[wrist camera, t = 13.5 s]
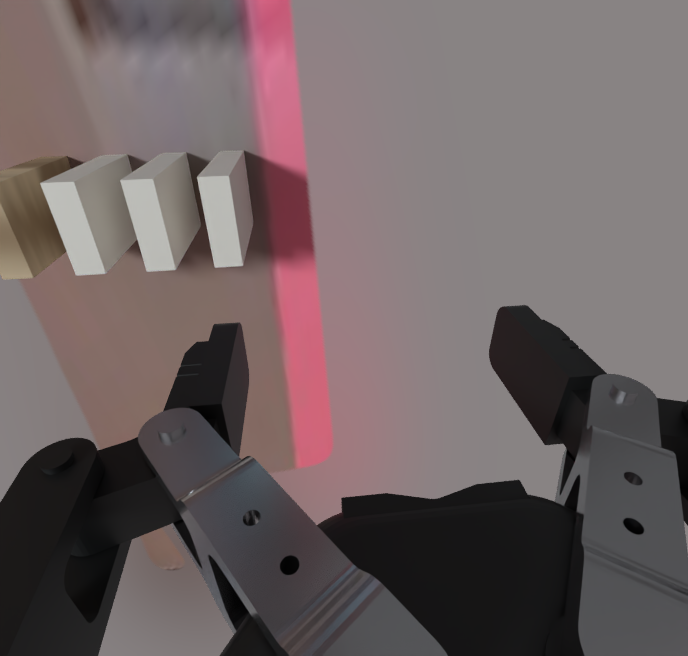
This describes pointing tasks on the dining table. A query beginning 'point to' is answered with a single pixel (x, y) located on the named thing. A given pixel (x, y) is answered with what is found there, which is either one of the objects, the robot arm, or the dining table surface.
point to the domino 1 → (28, 218)
